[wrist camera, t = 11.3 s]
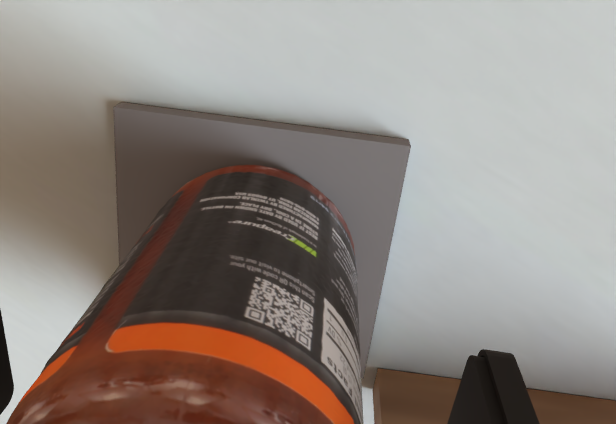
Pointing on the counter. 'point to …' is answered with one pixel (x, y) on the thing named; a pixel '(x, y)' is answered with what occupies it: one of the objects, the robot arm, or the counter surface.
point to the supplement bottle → (218, 316)
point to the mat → (270, 153)
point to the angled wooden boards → (442, 391)
